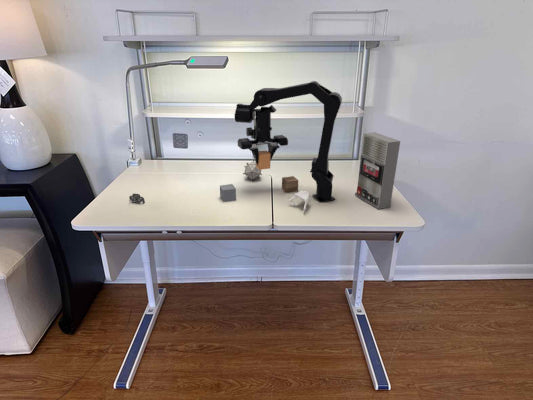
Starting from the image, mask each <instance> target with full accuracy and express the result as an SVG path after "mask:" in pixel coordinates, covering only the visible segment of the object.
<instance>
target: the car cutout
mask: <svg viewBox="0 0 533 400" xmlns="http://www.w3.org/2000/svg"><path fill="white" fill-rule="evenodd" d="M128 198H129V200H128V203H129V205H132V204H139V206H143V205H144V204H146V200H145V198H144V196H141V195H140V193H132V194H131V195H129V197H128Z"/></svg>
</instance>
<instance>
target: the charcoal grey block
mask: <svg viewBox="0 0 533 400" xmlns="http://www.w3.org/2000/svg"><path fill="white" fill-rule="evenodd" d="M219 197H220V199H221V200H222V203H228V202H229V203H230V202H234V201H237V188H236V186H234V184H233V183H230V184H222V185H219Z"/></svg>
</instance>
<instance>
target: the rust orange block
mask: <svg viewBox="0 0 533 400" xmlns="http://www.w3.org/2000/svg"><path fill="white" fill-rule="evenodd" d="M256 167H257V168H258V169H259V170H261V171H262V170H268V169H271V161H270V153H269V152H268V150H258V164H256Z"/></svg>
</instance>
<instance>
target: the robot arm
mask: <svg viewBox="0 0 533 400" xmlns="http://www.w3.org/2000/svg"><path fill="white" fill-rule="evenodd" d="M307 95H312V96H313V97H314V98H316V99H317V100H318V101H319V102H320V103H322V104H323V118H324V119H323V126H322V131H321V137H320V144H319V148H318V154H317V158H316V157H313V159H312V161H311V169H310V171H309V173H311V178H312V179H313V180H314V181H315V183H316V189H315V191H316V193H315V194H312V197H313V198H314V199H316V200H317V202H320V203H322V202H330V201H335V200H336V199H335V197H334V196H332V194H333V179H334V176H335V175H334V174H333V173H332V172H331V171H330V170H329V167H330V164H329V163H330V161H329V155H330V154H329V153H330V149H331V148H330V147H331V143H332V138H333V133H334V126H335V121H336V118H337V116H338V113H339V110H340V108H341V105H342V102H343V97H342V96H341V94H340V93H339V92H335V91H334V92H333V91H331V89H328V88H326V87H325V86H323V85H322V84H321V83H319V81H315V80H312V81H309V82H306V83H300V84H295V85H289V86H285V87H278V88H277V87H263V88H260V89H259V90H256V91H255V93H254V94H253V99H252V101H251V103H250V104H244V103H237V104H236V108H235V112H234V121H235V122H236V123H247V124H251V123H252V122H253V121H254V122H255V123H254V124H255V125H254V126H253V128H252V127H246V128H245V129H246V130H245V131H246V136H247V137H244V138H238V140H237V147H239V148H240V149H241V150H249V151H251V153H252V155H253V160H254V162H255V163H256V164H258V151H259V148H258V147H257V146H259V145H260V146H261V145H267V148H268V149H267V151H268V152H269V153H270V162H271V161H272V160H273V159H272V158H273V157H274V155H275V153H276V151H277V150H278V149H280V146H281V147H283V146H288V144H289V140H288V138H287V136H284V135H283V134H280V135H279V134H277V135H273V137H272V135H271V134H272V133H271V131H272V130H273V127H272V124H271V123H272V122H271V119H272V115H271V114H273V113H275V112H277V108H275V107H274V105H272V104H273V103H274V102H275V103H276V102H277V101H280V100H284V99H291V98H295V97H301V96H302V97H303V96H307ZM268 105H269V106H268ZM258 107H260V108H258ZM248 137H251V139H249V138H248ZM252 139H253V140H252Z"/></svg>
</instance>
